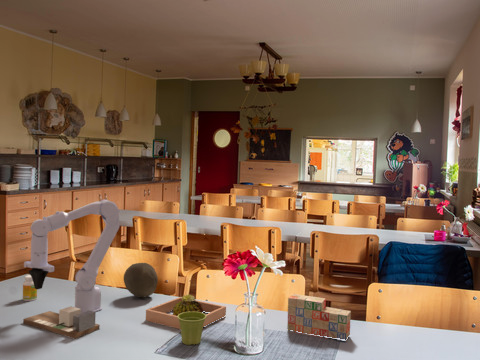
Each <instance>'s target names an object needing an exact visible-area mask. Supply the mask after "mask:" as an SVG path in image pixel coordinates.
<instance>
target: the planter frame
mask: <svg viewBox="0 0 480 360" xmlns="http://www.w3.org/2000/svg"><path fill="white" fill-rule="evenodd" d="M182 297H183V296H180V297H176V298H173V299H170V300H168V301H166V302H163V303H160V304H157V305H155V306H153V307H150V308H147V309H145V321H147V322H150V323H155V324H159V325H161V326H162V325H163V326H167V327H171V328H174V329H178V330H181V328H180V322H179V319H178V316H175V315H172V314H171V313H170V312H169V311H171V310H173V308H174V306H175V305H176V303H178V302H180V301H182V299H181V298H182ZM195 301H197V302H198V303H200V304H201V307H202V310H203V311H205V312H210V313H208V314H206V313H205V314H206V319H205V321H204V323H203V327H204V326H206V325H208V324H210V323H212V322H214V321H216V320H218V319H220V318H222V317H224V316H225V315H226V316H227V306H225V305H221V304H216V303H210V302H205V301H202V300H201V301H200V300H197V299H195ZM167 312H169V313H167ZM171 312H172V311H171ZM224 318H225V317H224ZM222 319H223V318H222ZM220 320H221V319H220ZM218 321H219V320H218Z"/></svg>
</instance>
